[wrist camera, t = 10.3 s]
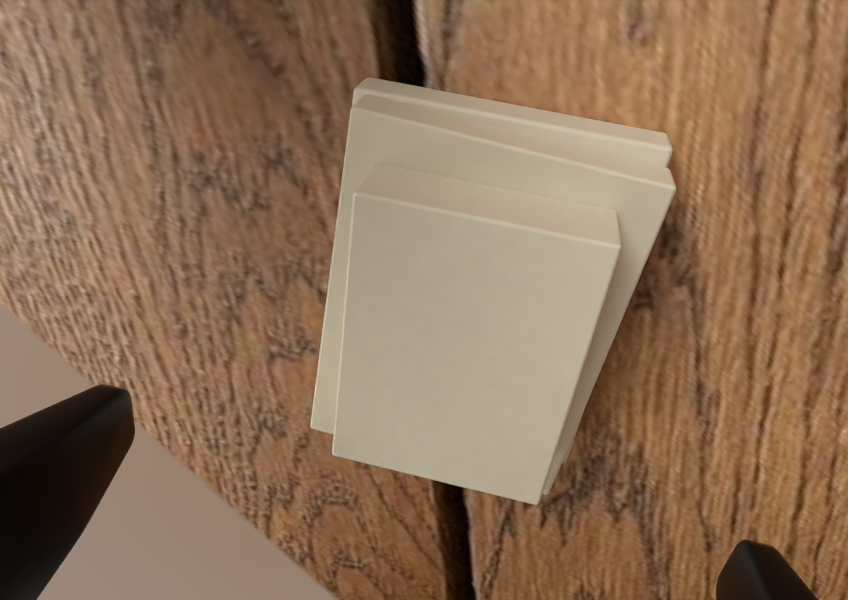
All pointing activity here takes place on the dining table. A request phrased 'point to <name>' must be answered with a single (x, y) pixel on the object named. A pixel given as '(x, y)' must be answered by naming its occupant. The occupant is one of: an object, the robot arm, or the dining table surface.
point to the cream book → (466, 327)
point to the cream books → (510, 169)
